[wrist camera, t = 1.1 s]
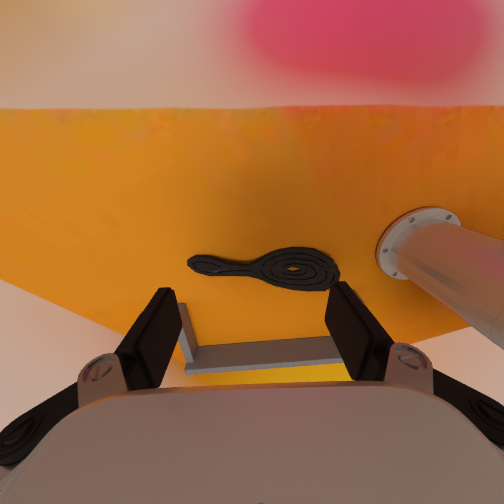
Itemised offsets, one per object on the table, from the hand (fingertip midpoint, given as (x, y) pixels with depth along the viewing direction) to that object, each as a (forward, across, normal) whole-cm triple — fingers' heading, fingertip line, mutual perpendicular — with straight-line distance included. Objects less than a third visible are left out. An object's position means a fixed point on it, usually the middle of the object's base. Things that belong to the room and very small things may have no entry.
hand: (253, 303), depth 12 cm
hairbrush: (+20, -2, +9) cm, 22 cm away
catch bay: (+19, -3, +22) cm, 29 cm away
